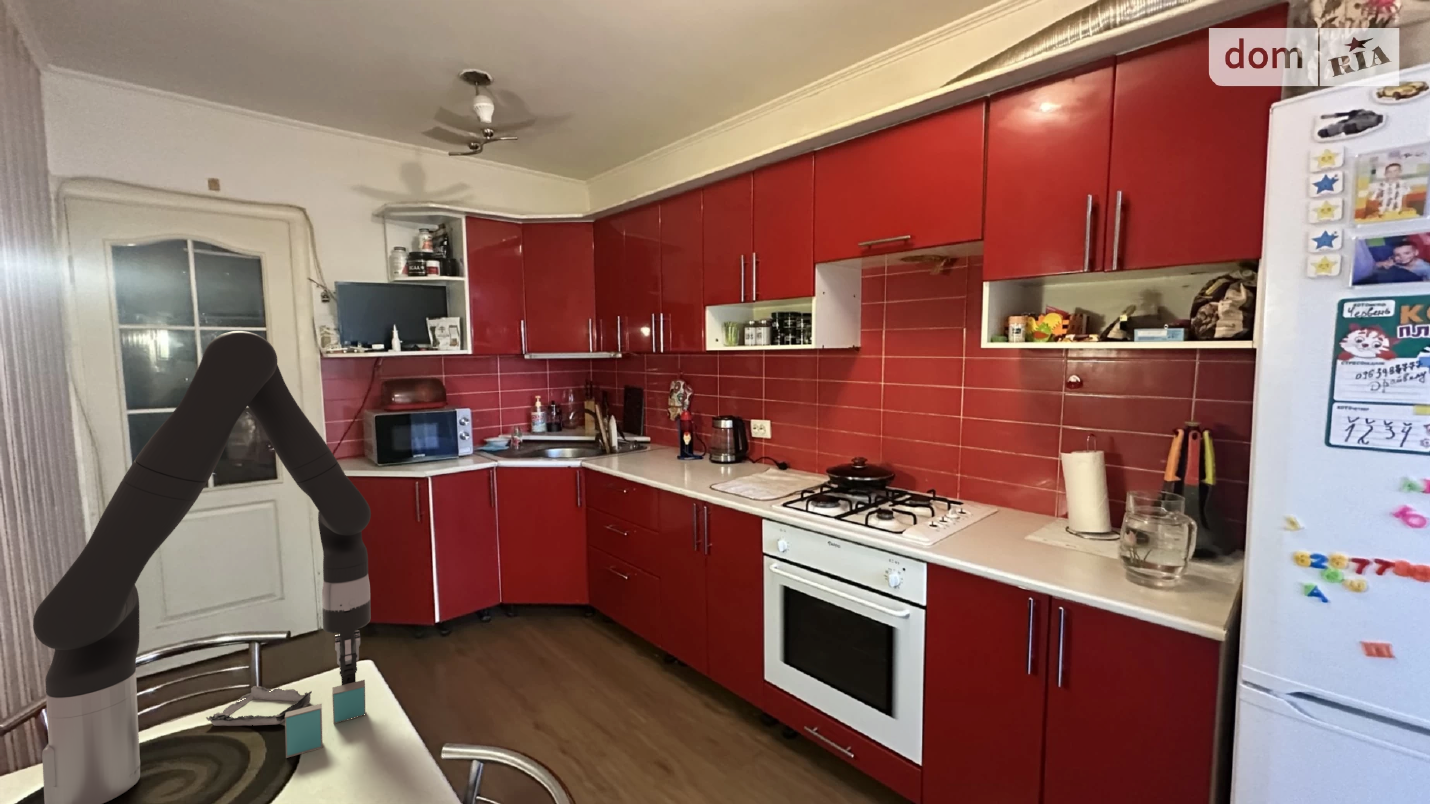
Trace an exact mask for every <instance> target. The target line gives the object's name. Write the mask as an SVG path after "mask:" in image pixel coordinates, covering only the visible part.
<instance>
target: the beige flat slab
mask: <svg viewBox="0 0 1430 804" xmlns="http://www.w3.org/2000/svg"><path fill="white" fill-rule="evenodd" d="M322 704H323V703H322V702H321V703H318V704H314V705H311V706H304V707H303V708H301V709H297V710H293V711H289V712H286V713H285V721H284V731H285V732H284V735H285V736H284V737H285V758H286V759H287V758H290V757H291V758H292V757H294V756H298V755H301V754H305V753H309V752H311V751H316V750H319V749H320V750H321V749H322V748H323V746H324V745H323V744H324V743H323V740H324V739H323V738H324V737H323V706H322Z"/></svg>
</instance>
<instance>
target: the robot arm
mask: <svg viewBox="0 0 1430 804" xmlns="http://www.w3.org/2000/svg"><path fill="white" fill-rule="evenodd" d="M277 355H278V354H277V352H276V350H275V348H274V346H273V345H272V343H270V342H269V341H268V340H267V339H265V338H264V337H263V336H261V335H259V334H258V333H254V332H250V331H248V330H247V331H246V330H233V331H229V332H224V333H221V334H219V335H218V336H216V337H214V338H213V339H211V341H210V342H209V343H208V344H207V345H206V347H205V349H204V352H203V354H202V357H201V361H200V362H199V365H198V368H197V370H196V372H195V374H194V376H193V378H192V381H191V382H190V383H189V386H188V388H187V390H186V392H185V394H184V396H183V398H182V399H181V401H180V402H179V404H177V405H178V406H176V408H175V409H174V410H173V412H172V413H171V414H170V415H169V416H168V417H167V418H166V420H165V421H164V422H163V423H161V426H159V428H158V429H157V430H156V431H155V432H154V433H153V434H152V436H151V437H150V438H149V440H148V441H147V442H146V444H145V445H144V446H143V447H142V449H141V450H140V451H139V453H138V455H137V456H136V457H135V459H134V460H133V462H132V464H131V465H130V467H129V469H127V472H126V473H125V474H124V476H123V478H122V480H121V481H120V482H119V485H118V486H117V488H116V490H115V491H114V493H113V495H112V496H111V498H110V501H108V504H107V505H106V508H105V509H104V510H103V513H102V515H101V516H100V519H99V520H98V522H97V525H96V526H95V528H94V530H93V533H92V535H91V536H90V538H89V540H88V541H87V543H86V545H85V546H84V548H83V549H82V551H81V553H79V555H78V556H77V558H76V559H75V561H74V562H73V563H72V564H71V566H70V567H69V568H68V570H67V571H66V572H65V574H63V576H62V577H61V579H60V580H59V581H58V582H57V583H56V584H55V586H54V587H53V588H52V589H51V591H50V592H49V593H48V594H47V596H46V597H45V598H44V599H43V600H42V601H41V602H40V603H39V605H38V607H37V608H36V610H35V613H34V616H33V619H32V628H33V632H34V635H35V637H36V639H37V640H38V641H39V642H40V643H41V644H42V645H44V646H45V647H47V648H50V649H53V650H54V652H53V653H54V654H53V657H52V661H51V664H50V666H49V669H48V670H47V672H46V676H45V693H46V694H45V696H46V698H45V699H46V716H47V717H46V718H47V736H48V737H47V738H48V743H47V744H46V746H45V747H44V749H43V750H42V752H41V755H42V756H41V757H42V759H41V760H42V777H43V779H42V780H43V781H42V782H43V797H44V798H43V800H44V804H104V803H107V802H109V801H112V800H113V799H115V798H117V797H119V796H121V795H122V794H124V793H126V792H128V790H130V789H131V788H133V787H134V785H136V784H137V783H138V782H139V780H140V777H141V759H140V735H139V734H140V733H139V716H138V715H139V713H138V692H137V666H136V664H137V656H138V655H137V654H138V652H139V649H140V597H139V591H138V588H137V586H136V584H137V581H138V579H139V577H140V575H142V572H143V570H144V568H145V567H146V565H147V564H148V562H149V561H150V559H151V558H152V557H153V555H154V554H155V553H156V551H157V550H158V549H159V548H160V546H162V544H163V543H165V541H166V540H167V539H168V538H169V537H170V535H171V534H172V533H173V532H174V531H175V529H176V528H177V526H178V525H180V523H181V522H182V521H183V519H184V518H185V517H186V516H187V514H188V513H189V511H190V510H191V509H192V507H193V506H194V504H195V502H196V501H197V500H198V498H199V497H200V495H201V493H202V491H203V490H204V488H205V487H206V485H207V483H208V482H209V480H210V478H211V477H212V475H213V473H214V470H215V469H216V467H217V466H218V463H219V461H220V460H221V457H222V455H223V454H224V453H223V452H224V451H225V448H226V446H227V443H228V441H229V439H230V436H231V434H232V431H233V429H234V427H235V425H236V424H237V422H238V420H239V419H240V417H241V416H242V414H243V413H244V411H245V410H246V408H248V409H249V410H250V411H251V413H252V414H253V415H254V417H255V418H256V420H257V421H258V423H259V424H260V427H261V428H262V429H263V431H264V433H265V435H266V437H267V439H268V441H269V442H270V445H271V446H272V448H273V451H274V452H275V453H276V455H277V457H278V458H279V460H280V462H281V463H282V464H283V465H282V466H284V467H285V469H286V471H287V472H288V473H289V475H290V476H291V478H292V479H293V481H294V482H295V484H296V485H297V487H298V488H299V489H300V490H301V491H302V492H303V493H304V494H306V496H308V497H309V499H311V501H312V503H313V505H314V506H315V507H316V509H317V510H318V513H317V516H318V518H317V520H318V521H317V522H318V523H317V524H318V531H319V537H320V541H321V546H322V552H323V556H322V557H323V558H322V559H323V560H322V574H323V577H322V581H323V582H322V588H321V589H322V590H321V602H322V607H321V608H322V630H323V631H324V632H326V633H328V634H329V633H330V634H335V635H334V650H335V651H336V663H337V665H338V666H339V675H340V677H341V678H340V679H341V685H345V684H349V683H353V682H357V679H356V674H357V671H358V667H357V666H358V663H357V662H359V659H360V648H359V647H360V646H361V632H360V630H358V629H361V628H363V627H366V626H367V625H368V624H369V623H370V622H371V619H372V618H371V617H372V615H371V614H372V613H371V610H372V609H371V583H370V579H369V578H370V577H369V554H368V549H367V546H366V545H365V543H364V541H363V534H362V531H364V529H366V527H367V526H368V524H369V523H370V520H371V515H372V512H371V507H370V505H369V503H368V501H367V500H366V499H365V497H364V495H363V494H362V493H361V492H360V490H359V489H358V488H357V487H356V485H354V484H353V482H352V480H351V479H349V477H348V476H347V475H346V473H345V472H344V470H343V469H342V467H341V465H340V463H339V461H338V460H337V458H336V456H335V455H334V454H333V452H332V450H331V449H330V448H329V445H328V444H327V443H326V441H325V440H324V439H323V437H322V436H321V434H320V433H319V432H318V430H317V429H316V428H315V427H314V425H313V424H312V422H311V421H310V420H309V419H308V417H307V416H306V414H305V413H304V412H303V410H302V409H301V407H300V406H299V404H298V403H297V401H296V399H295V398H294V397H293V395H292V393H291V391H290V390H289V388H288V386H287V384H286V381H285V380H284V377H283V375H282V373H281V370H280V367H279V365H278V356H277Z"/></svg>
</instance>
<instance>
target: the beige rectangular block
mask: <svg viewBox="0 0 1430 804" xmlns="http://www.w3.org/2000/svg"><path fill="white" fill-rule="evenodd" d="M331 691H332V712H333V713H332V714H333V715H332V719H333V721H332V722H333V724H338V722H339V723H342V722H345V721H344V720H346V721H348V720H347V719H350V720H352V719H351V718H353V719H355V718H354V717H357V716H361V715H364V714H365V715H366V681H365V679H362V680H359V681H358V680H356V682H353V683H349V684H345V685H342V684H340V685H337V686H333V687H332V690H331ZM365 715H364V716H365ZM361 717H362V716H361ZM357 718H358V717H357ZM341 721H342V722H341Z"/></svg>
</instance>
